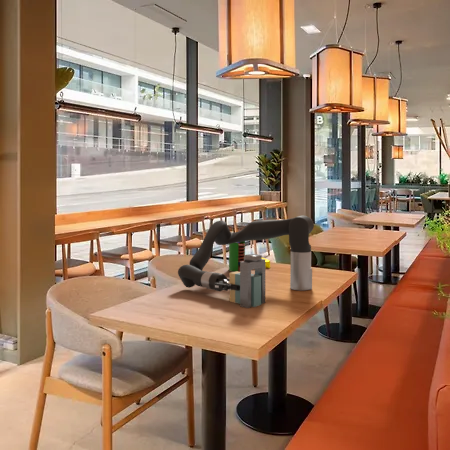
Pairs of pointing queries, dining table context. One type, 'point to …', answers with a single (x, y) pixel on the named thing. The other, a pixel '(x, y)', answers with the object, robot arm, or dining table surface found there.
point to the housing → (245, 278)
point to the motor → (236, 255)
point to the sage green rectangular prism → (254, 289)
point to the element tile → (267, 263)
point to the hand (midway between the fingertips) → (243, 287)
